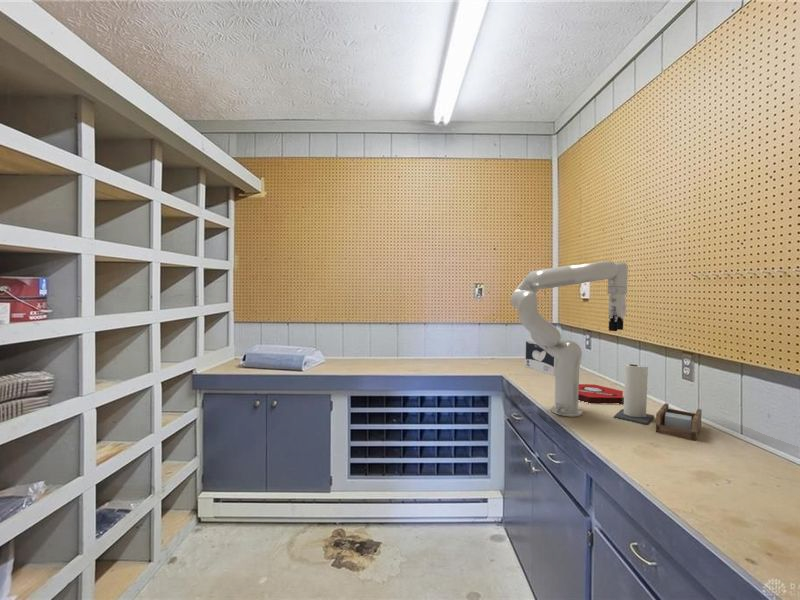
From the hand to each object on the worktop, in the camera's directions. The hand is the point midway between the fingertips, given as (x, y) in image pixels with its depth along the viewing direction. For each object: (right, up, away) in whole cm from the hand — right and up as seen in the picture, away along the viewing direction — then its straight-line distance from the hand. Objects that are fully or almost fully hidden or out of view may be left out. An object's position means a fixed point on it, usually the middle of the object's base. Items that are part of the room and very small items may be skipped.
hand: (615, 330), depth 168 cm
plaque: (+3, -36, +27) cm, 46 cm away
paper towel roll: (+4, -36, -5) cm, 37 cm away
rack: (+14, -37, -19) cm, 44 cm away
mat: (+5, -37, -5) cm, 37 cm away
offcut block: (+12, -37, -21) cm, 44 cm away
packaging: (+1, -35, +90) cm, 97 cm away
